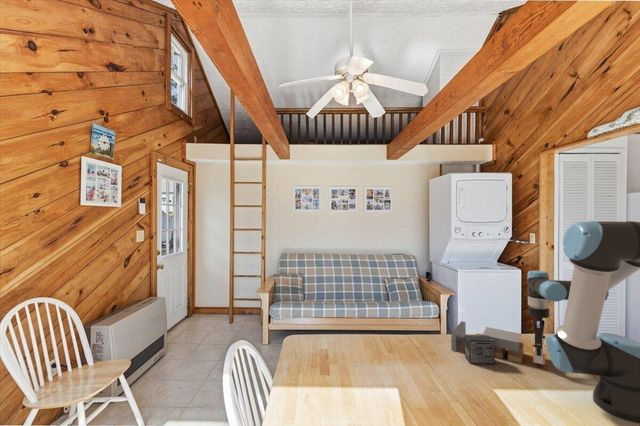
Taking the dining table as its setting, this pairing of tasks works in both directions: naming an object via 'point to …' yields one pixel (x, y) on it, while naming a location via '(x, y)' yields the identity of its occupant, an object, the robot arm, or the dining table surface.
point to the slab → (504, 338)
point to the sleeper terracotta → (543, 354)
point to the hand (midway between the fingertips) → (539, 357)
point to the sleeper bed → (509, 353)
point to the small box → (479, 349)
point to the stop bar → (458, 336)
